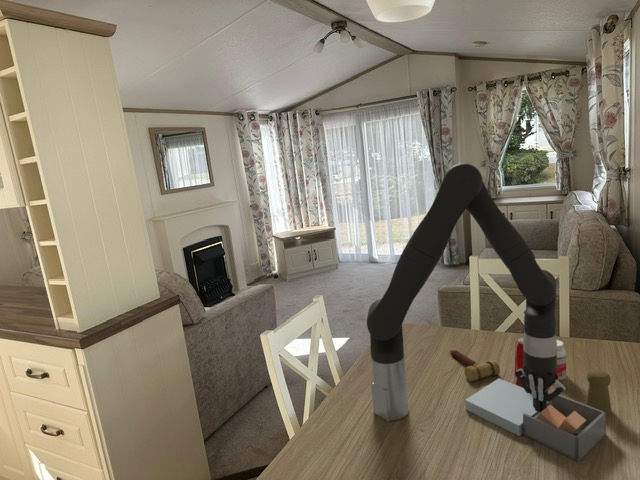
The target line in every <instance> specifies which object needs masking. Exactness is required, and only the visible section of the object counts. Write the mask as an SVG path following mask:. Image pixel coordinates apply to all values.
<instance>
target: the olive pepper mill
mask: <svg viewBox="0 0 640 480" xmlns="http://www.w3.org/2000/svg"><path fill="white" fill-rule="evenodd" d="M586 379H587V382H588V389H587V393H586V400H585V403H584V404H585V405H588V406H590V407H593V408H596V409H598V410H601V411H603V412H606V417H609V416H610V415H612V413H613V412H612V406H611V405H612V404H611V398H610V391H609V385H611V376H610V374H609V373H608V372H606V371H605V370H602V369H595V368H594V369H591V370H589V371H588V372H587V374H586Z"/></svg>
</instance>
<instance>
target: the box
mask: <svg viewBox="0 0 640 480" xmlns="http://www.w3.org/2000/svg"><path fill="white" fill-rule="evenodd" d="M552 392H553V391H551V392H550V394H551V393H552ZM585 404H586V403H584V402H580V401H576V400H574V399H571V398H569V397H568V396H564V395H562V394H559V395H558V396H556V397H555V398H554V399H552V400H551V404H550V405H552V406H553V407H554V408H555V409H557V410H558V411H559V412H560V413H561V414H563V415H564V416H565V417H566V418H567V417H568V416H569V415H570V414H571V413H573V412H574V411H576V412H577V413H578V414H579V415H581V416H582V417H583V418H584V419H586V421H585V423H584V424H583V426H582V427H581V428H580V430H579V431H578V432H577V433H576V434H575V435H572V434H570V433H568V432H565V431H563V430H561V429H559V428H557V427H554V426H552V425H550V424H548V423H545V422H543V421H541V420H539V419H536V418H537V417H538V415H539V413H538V414H537V415H536V416H535V417H532V416H530V415H527V414H525V413H524V414H523V434H522V435H523V436H524V437H526V438H528V439H530V440H532V441H535V442H537V443H538V444H540V445H542V446H545V447H546V448H548V449H551V450H552V451H555V452H556V453H558V454H560V455H563V456H565V457H567V458H569V459H571V460H573V461H575V462H577V463H579V462H580V461H581V460H582V458H584V457H585V456H586V454H588V452H590V451H591V449H592V448H593V447H595V446H596V445H597V444H598V443H599V442H600V441H601V440H602V439H603V438H604V437H605V436H606V434H607V431H606V430H607V429H606V428H607V416H606V412H603V411H601V410H598V409H596V408H593V407H590V406H588V405H585ZM548 406H549V405H548ZM548 406H547V407H548Z"/></svg>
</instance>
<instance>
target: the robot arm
mask: <svg viewBox="0 0 640 480" xmlns="http://www.w3.org/2000/svg"><path fill="white" fill-rule="evenodd" d="M483 180H484V179H483V175H482V173H481V171H480V169H478V168H477V167H476V166H474V165H473V164H471V163H466V162H464V163H462V162H461V163H457V164H455V165H452V166H451V167H450V168H448V170H446V172H445V174H444V176H443V179H442V181H441V184H440V186H439V188H438V190H437V193H436V195H435V197H434V200H433V201H432V204H431V206H430V207H429V210H428V211H427V213H426V214H425V216H424V217H423V219H422V220H421V221H420V223H419V224H418V225H417V226H416V229H414V232H413V233H412V235H411V237H410V238H409V240H408V241H407V243H406V245H405V247H404V248H403V250H402V252H401V254H400V256H399V258H398V260H397V263H396V265H395V268H394V270H393V273H392V276H391V279H390V282H389V285H388V287H387V289H386V291H385V292H384V294H383V296H382V298H379V299H377V300H375V301H373V302H372V303H371V305H370V307H368V311H367V317H366V327H367V330H368V332H369V335H370V336H369V338H370V343H369V344H370V358H371V368H372V370H371V371H372V379H373V382H371V384H370V387H371V394H372V395H371V396H372V397H371V398H372V406H373V408H372V409H373V413H374V414H375V415H377V416H378V417H380V418H381V419H383V420H385V421H386V422H391V421H398V420H400V419H403V418H405V417H406V416H408V414H409V400H408V388H407V377H406V364H405V363H406V362H405V349H404V337H403V335H404V334H403V323H404V320H405V319H406V315H407V313H408V311H409V309H410V307H411V305H413V304H412V303H413V302H414V300H415V298H416V297H417V296H418V294H419V293H420V291H421V289H422V288H423V287H424V285H425V284H426V282H427V281H428V279H429V277H430V276H431V274H432V273H433V272H434V270H435V268H436V266H437V264H438V263H439V262H440V260H441V258H442V257H443V255H444V252H445V250H446V248H447V247H448V244H449V241H450V239H451V236H452V234H453V231H454V229H455V226H456V225H457V223H458V222H459V220H460V218H461V216H462V215H463V214H464V213H465V210H467V211H468V213H469V214H470V215H471V216H472V217H473V219H474V220H475V222H476V223H477V225H478V227H479V228H480V229H481V231H482V233H483V235H484V236H485V238H486V240H487V241H488V243H489V245H490V246H491V248H492V249H493V251H494V252H495V253H496V255H497V256H498V258H499V259H500V260H501V262H502V263H503V264H504V265H505V267H506V268H507V269H508V271H509V272H510V274H511V277H512V279H513V280H514V282H515V284H516V286H517V288H518V290H519V292H520V293H521V295H522V296H523V297H524V299H525V310H524V316H523V317H524V318H523V323H524V325H523V330H524V331H523V336H522V337H523V363H524V366H523V369H522V368H520V369H519V370H517V371H516V372H515V371H514V372H515V375H516V377H517V378H518V380H519V382H520V383H521V385H522V386H523V388H524V390H525V391H526V392H527V393H530V394H531V395H532V397H533V407H534V408H535V411H537V412H541V411H543V410H544V409H545V408H546V407H547V401H548V402H549V401H551V400H552V399H554V398H555V397H556V396H558V395H562V393H563V392H565V391H566V390H567V389H568V385H566V384H564V383H563V384H562V383H561V381H560V380H558V376H557V373H556V369H557V340H558V339H557V320H556V302H557V301H556V299H557V280H556V278H555V276H554V274H553V273H551V272H549V270H546V269H542V268H541V267H540V265H539V264H538V263H537V260H536V256H535V254H534V252H533V250H532V249H531V247H530V245H529V244H528V243H527V242H526V240H525V239H524V238H523V236H522V235H521V234H520V233H519V232H518V230H517V229H516V228H515V226H514V225H513V223H512V222H510V220H509V219H508V218H507V217H506V216H505V215H504V213H503V212H502V211H501V210H500V208H499V207H498V205H497V203H495V200H493V198H492V196H491V195H490V193H489V190H488V188H487V187H486V185H485V183H484V181H483ZM526 383H527V384H526ZM527 385H528V386H527ZM553 385H554V386H553ZM551 386H553V391H551V392H552V393H551V392H550V393H549V390H550V387H551Z"/></svg>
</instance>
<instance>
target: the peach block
mask: <svg viewBox="0 0 640 480" xmlns="http://www.w3.org/2000/svg"><path fill="white" fill-rule="evenodd" d="M585 421H586V419H584V418H583V417H582V416H581V415H579V414H578V413H577V412H576V411H574V412H573V413H571V414H570V415H569V416H568V417H567V418H566V419H565V420H564V421H563V422H562V424H561V425H560V427H559V429H561V430H563V431H565V432H568V433H570V434H572V435H575V434H576V433H577V432H578V431H579V430H580V428H581V427H582V426H583V424H584V423H585Z"/></svg>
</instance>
